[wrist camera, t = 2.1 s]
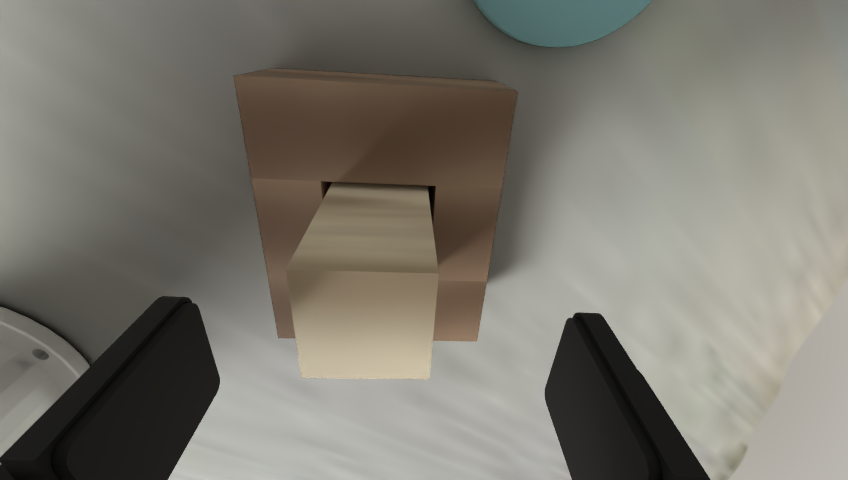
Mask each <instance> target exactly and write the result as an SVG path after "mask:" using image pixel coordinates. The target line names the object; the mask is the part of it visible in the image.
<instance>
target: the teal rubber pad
mask: <svg viewBox="0 0 848 480" xmlns="http://www.w3.org/2000/svg"><path fill="white" fill-rule="evenodd" d="M473 1H474V2H475V4H476V6H477V7H478V8H479V10H480V11H481V12H482V13H483V15H484V16H485V17H486V18H487V19H488V20H489V21H490V22H491V23H492V24H493V25H494V26H495V27H496V28H498V29H499V30H501V31H502V32H503V33H505V34H506V35H508V36H510V37H512V38H514V39H516V40H518V41H521V42H524V43H527V44H531V45H536V46H543V47H570V46H576V45H581V44H585V43H588V42H591V41H595V40H597V39H599V38H601V37H604V36H606V35H608V34H610V33H612V32H613V31H615V30H617V29H618V28H620V27H622V26H623V25H625V24H626V23H627V22H629V21H630V20H631V19H632V18H634V17H635V16H636V15H637V14H639V13H640V12H641V11H642V10H643V9H644V8H645V7H646V6H647V5H648V4H649V3H650V2H651V1H652V0H473Z"/></svg>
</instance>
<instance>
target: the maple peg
mask: <svg viewBox="0 0 848 480" xmlns="http://www.w3.org/2000/svg"><path fill="white" fill-rule="evenodd" d="M286 275H287V282H288V289H289V296H290V303H291V310H292V317H293V324H294V331H295V338H296V345H297V352H298V359H299V366H300V373H301V378H359V379H429V378H430V367H431V356H432V345H433V333H434V322H435V311H436V300H437V288H438V277H439V271H438V264H437V256H436V248H435V240H434V233H433V225H432V217H431V210H430V202H429V194H428V187H427V185H403V184H378V183H353V182H332V184H331V186H330V188H329V189H328V191H327V193H326V195H325V197H324V199H323V201H322V203H321V204H320V206H319V208H318V210H317V212H316V214H315V216H314V218H313V219H312V221H311V223H310V225H309V227H308V229H307V231H306V233H305V234H304V236H303V238H302V240H301V242H300V244H299V246H298V248H297V249H296V251H295V253H294V255H293V257H292V259H291V261H290V263H289V264H288V266H287V268H286Z"/></svg>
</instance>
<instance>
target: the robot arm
mask: <svg viewBox="0 0 848 480" xmlns="http://www.w3.org/2000/svg"><path fill="white" fill-rule="evenodd" d="M219 385H220V377H219V374H218V370H217V367H216V364H215V360H214V357H213V354H212V350H211V347H210V344H209V341H208V337H207V334H206V331H205V327H204V324H203V321H202V317H201V314H200V311H199V308H198V306H197V305H196V304H194V303H192V301H191V300H190V299H189V298H187V297H168V296H163V297H160V298H158V299H157V300H156V301H155V302H154V303H153V304H152V305H151V306H150V307H149V308H148V309H147V310H146V311H145V312H144V313H143V314H142V315H141V316H140V317H139V318H138V319H137V320H136V321H135V322H134V323H133V324H132V325H131V326H130V327H129V328H128V329H127V330H126V331H125V332H124V333H123V334H122V335H121V336H120V337H119V338H118V339H117V340H116V341H115V342H114V343H113V344H112V345H111V346H110V347H109V348H108V349H107V350H106V351H105V352H104V353H103V354H102V355H101V356H100V357H99V358H98V359H97V360H96V361H95V362H94V363H93V364H92V365H91V366H89V364H88V363H87V362H86V360H85V359H84V358H83V357H82V355H81V354H80V353H79V352H78V351H76V350H75V349H74V348H73V347H72V346H71V345H70V344H69V343H68V342H67V341H65V340H64V339H62V338H61V337H60V336H58V335H57V334H55V333H54V332H53V331H51V330H50V329H48V328H46V327H44V326H43V325H41V324H39V323H37V322H35V321H34V320H32V319H30V318H28V317H26V316H23V315H21V314H18V313H16V312H14V311H11V310H9V309H6V308H3V307H0V480H168V478H169V476H170V474H171V473H172V471H173V469H174V467H175V466H176V464H177V462H178V460H179V459H180V457H181V455H182V453H183V452H184V450H185V448H186V446H187V445H188V443H189V441H190V439H191V438H192V436H193V434H194V432H195V430H196V429H197V427H198V425H199V423H200V422H201V420H202V418H203V416H204V415H205V413H206V411H207V409H208V408H209V406H210V404H211V402H212V401H213V399H214V397H215V395H216V393H217V391H218V389H219ZM545 400H546V404H547V407H548V410H549V413H550V416H551V419H552V422H553V425H554V428H555V431H556V433H557V436H558V439H559V442H560V445H561V448H562V451H563V454H564V457H565V460H566V463H567V466H568V469H569V472H570V475H571V478H572V480H710V478H709V477H708V475H707V474H706V472H705V471H704V469H703V467H702V466H701V464H700V463H699V461H698V460H697V458H696V457H695V455H694V454H693V452H692V450H691V449H690V447H689V446H688V444H687V443H686V441H685V440H684V438H683V437H682V435H681V434H680V432H679V430H678V429H677V427H676V426H675V424H674V423H673V421H672V420H671V418H670V417H669V415H668V414H667V412H666V410H665V409H664V407H663V406H662V404H661V403H660V401H659V400H658V398H657V397H656V395H655V394H654V392H653V390H652V389H651V387H650V386H649V384H648V383H647V381H646V380H645V378H644V377H643V375H642V374H641V373H640V372H639V371H638V370H637V369H636V367H635V365H634V364H633V362H632V361H631V359H630V358H629V356H628V355H627V353H626V351H625V350H624V348H623V347H622V345H621V344H620V342H619V341H618V339H617V338H616V336H615V334H614V333H613V331H612V330H611V328H610V327H609V325H608V324H607V322H606V320H605V319H604V317H603V316H602V315H601V314H599V313H575V314H574V316H573V318H568V319H567V321H566V324H565V327H564V330H563V333H562V336H561V340H560V343H559V346H558V349H557V352H556V355H555V359H554V362H553V365H552V368H551V371H550V375H549V378H548V381H547V384H546V387H545Z"/></svg>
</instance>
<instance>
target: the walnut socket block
mask: <svg viewBox="0 0 848 480" xmlns="http://www.w3.org/2000/svg"><path fill="white" fill-rule="evenodd" d="M234 82H235V88H236V93H237V99H238V105H239V111H240V117H241V123H242V129H243V134H244V140H245V146H246V152H247V158H248V164H249V169H250V175H251V181H252V187H253V193H254V199H255V205H256V210H257V216H258V222H259V228H260V234H261V240H262V246H263V251H264V257H265V263H266V269H267V275H268V281H269V287H270V292H271V298H272V304H273V310H274V316H275V322H276V327H277V333H278V338H295V331H294V324H293V317H292V310H291V303H290V296H289V289H288V282H287V275H286V268H287V266H288V264H289V263H290V261H291V259H292V257H293V255H294V253H295V251H296V249H297V248H298V246H299V244H300V242H301V240H302V238H303V236H304V234H305V233H306V231H307V229H308V227H309V225H310V223H311V221H312V219H313V218H314V216H315V214H316V212H317V210H318V208H319V206H320V204H321V203H322V201H323V199H324V197H325V195H326V193H327V191H328V189H329V188H330V186H331V184H332V182H353V183H378V184H403V185H427V186H429V202H430V210H431V217H432V225H433V233H434V240H435V248H436V256H437V264H438V271H439V277H438V288H437V300H436V311H435V322H434V333H433V341H477V338H478V332H479V326H480V320H481V313H482V307H483V301H484V295H485V289H486V283H487V277H488V271H489V264H490V258H491V252H492V246H493V240H494V234H495V228H496V221H497V215H498V209H499V203H500V197H501V191H502V185H503V179H504V172H505V166H506V160H507V154H508V148H509V142H510V136H511V130H512V123H513V117H514V111H515V105H516V99H517V93H518V92H517V91H515V90H513V89H511V88H509V87H507V86H504V85H502V84H500V83H498V82H496V81H486V80H469V79H451V78H434V77H416V76H399V75H382V74H364V73H347V72H330V71H312V70H295V69H277V68H269V69H265V70H260V71H255V72H250V73H245V74H240V75H235V76H234Z"/></svg>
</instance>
